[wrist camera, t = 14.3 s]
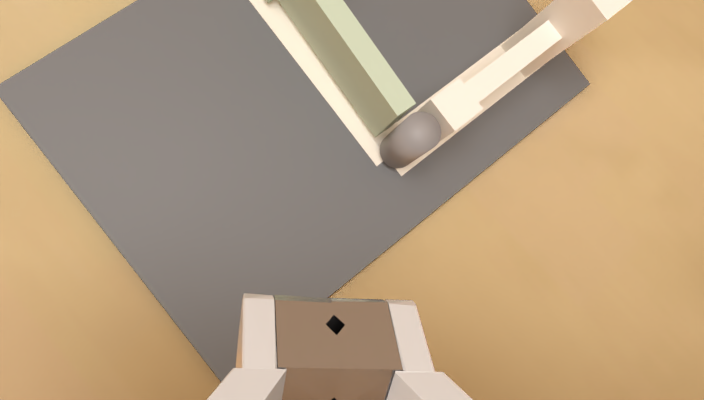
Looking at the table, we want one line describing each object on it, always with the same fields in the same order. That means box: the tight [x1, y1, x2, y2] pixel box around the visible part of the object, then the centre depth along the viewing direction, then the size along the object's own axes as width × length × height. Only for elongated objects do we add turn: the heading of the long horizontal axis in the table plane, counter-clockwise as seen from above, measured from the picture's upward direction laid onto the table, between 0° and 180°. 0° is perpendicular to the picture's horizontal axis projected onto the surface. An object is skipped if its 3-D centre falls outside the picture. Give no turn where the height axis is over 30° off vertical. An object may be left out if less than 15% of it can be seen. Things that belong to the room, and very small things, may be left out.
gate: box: [265, 0, 441, 168], centre depth 33 cm, size 14×2×9 cm, turn 36°
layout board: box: [0, 0, 590, 382], centre depth 38 cm, size 28×19×1 cm
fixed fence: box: [417, 0, 632, 142], centre depth 36 cm, size 11×2×9 cm, turn 129°
